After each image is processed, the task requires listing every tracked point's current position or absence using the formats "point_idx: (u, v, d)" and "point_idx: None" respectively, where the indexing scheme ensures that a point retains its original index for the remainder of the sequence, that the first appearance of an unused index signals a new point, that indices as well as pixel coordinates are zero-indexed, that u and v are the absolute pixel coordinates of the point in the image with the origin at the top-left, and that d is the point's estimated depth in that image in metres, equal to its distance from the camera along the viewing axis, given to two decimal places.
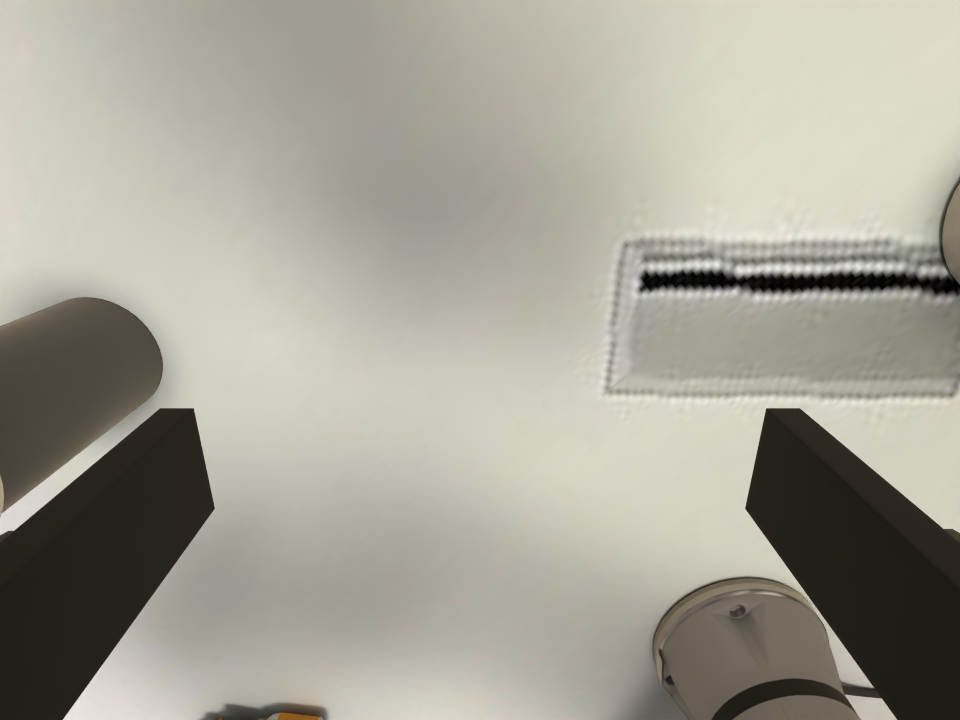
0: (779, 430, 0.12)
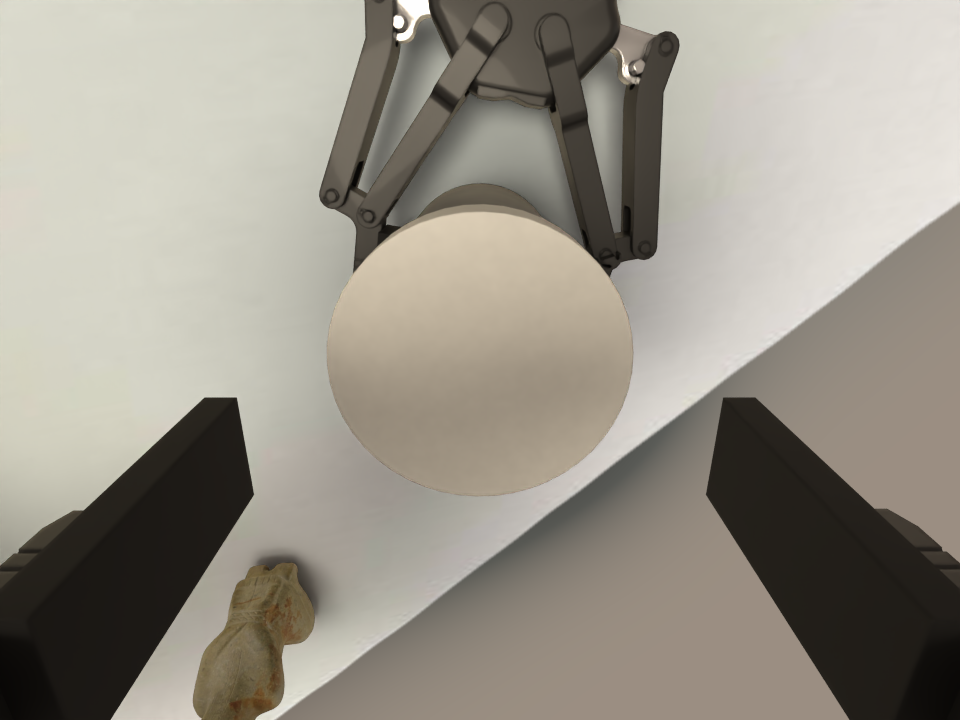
0: (733, 418, 0.12)
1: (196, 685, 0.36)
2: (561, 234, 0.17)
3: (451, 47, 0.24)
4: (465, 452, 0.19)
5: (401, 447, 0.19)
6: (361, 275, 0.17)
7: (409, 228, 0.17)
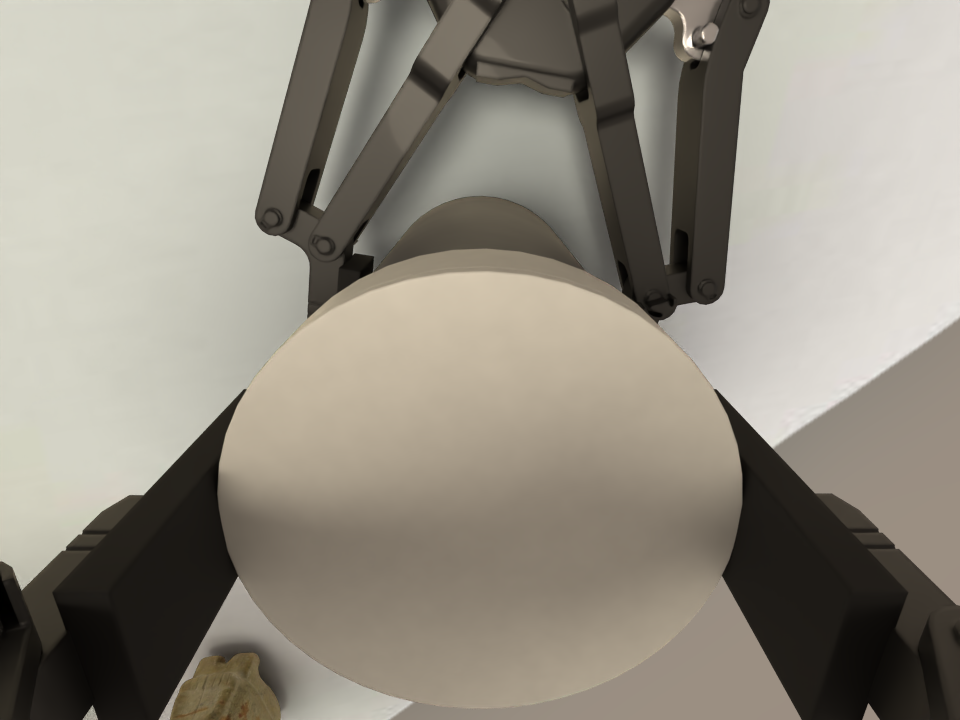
0: None
1: None
2: (628, 311, 0.09)
3: (438, 5, 0.17)
4: (456, 649, 0.12)
5: (351, 642, 0.12)
6: (268, 381, 0.10)
7: (351, 300, 0.09)
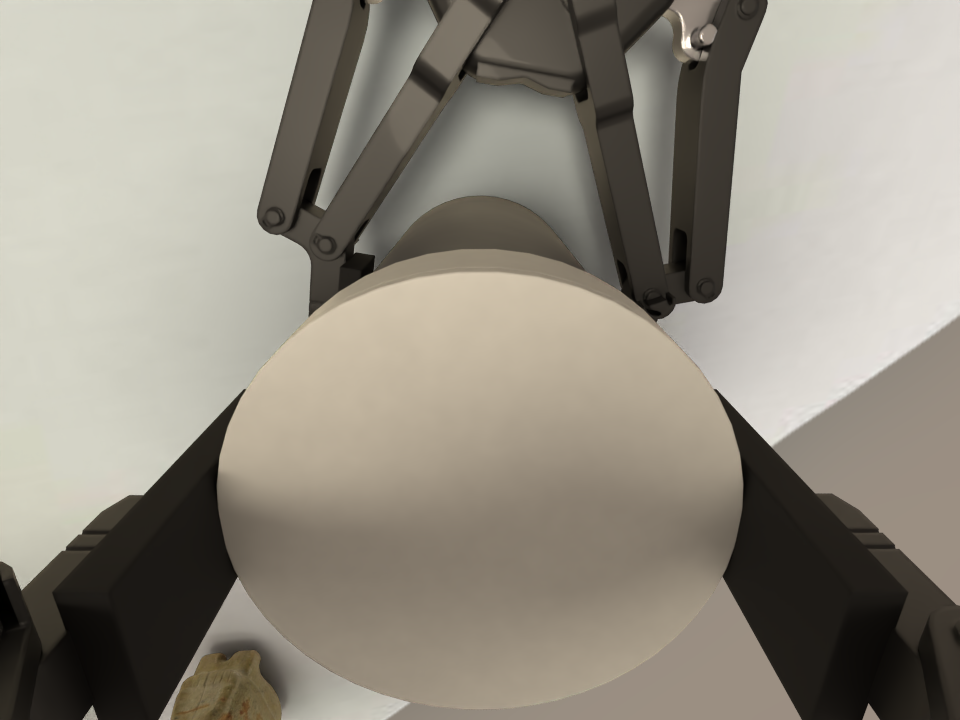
0: None
1: None
2: (303, 330, 0.09)
3: (439, 6, 0.17)
4: (611, 600, 0.11)
5: (552, 668, 0.12)
6: (269, 610, 0.11)
7: (223, 529, 0.11)
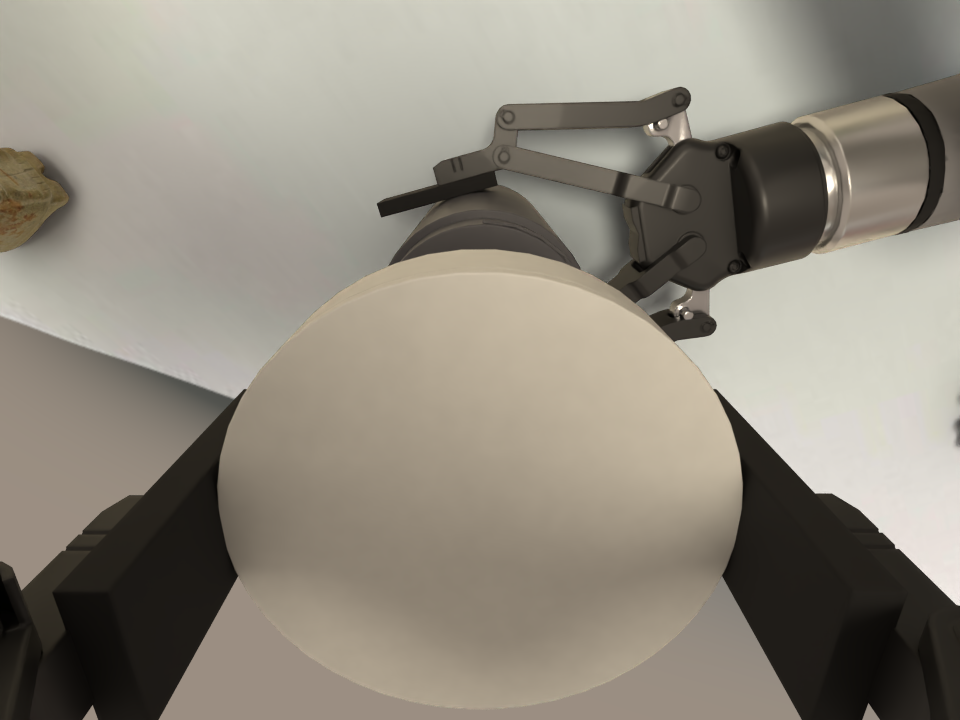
0: None
1: None
2: (303, 330, 0.09)
3: (657, 173, 0.30)
4: (611, 599, 0.11)
5: (552, 668, 0.12)
6: (269, 609, 0.11)
7: (223, 528, 0.11)
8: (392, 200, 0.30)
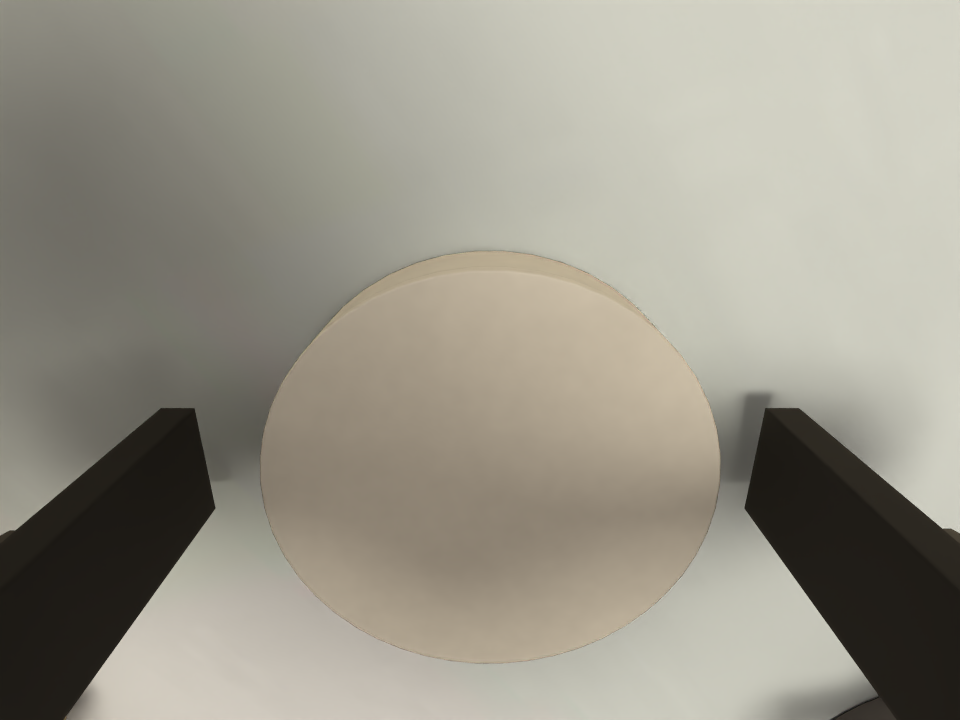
0: (778, 430, 0.12)
1: None
2: (338, 320, 0.11)
3: None
4: (605, 561, 0.13)
5: (553, 625, 0.14)
6: (302, 570, 0.13)
7: (264, 496, 0.12)
8: None
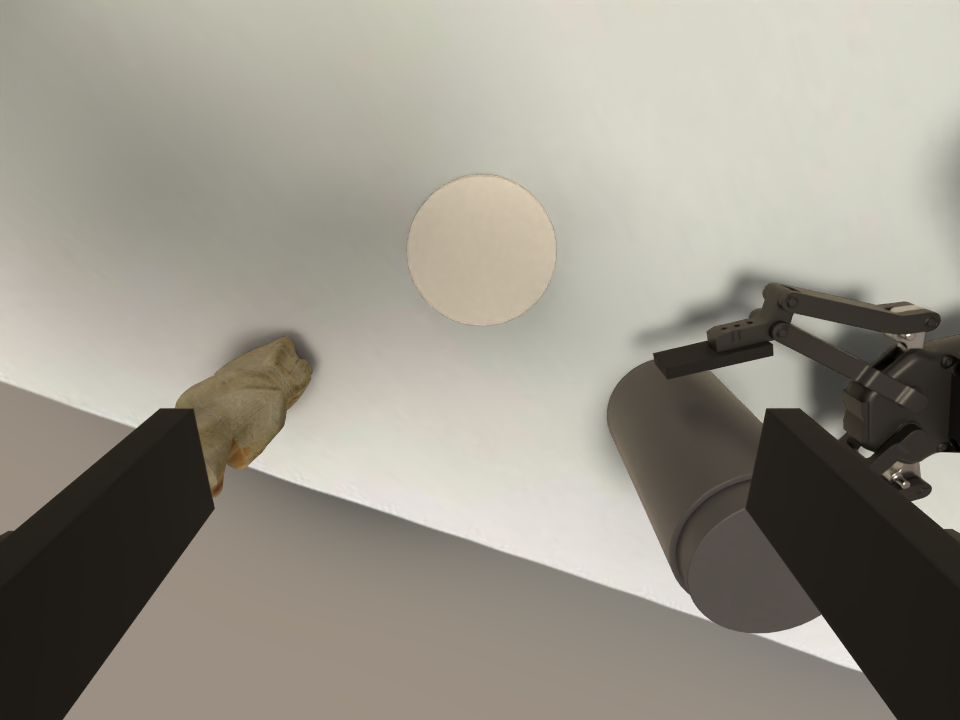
0: (779, 430, 0.12)
1: (204, 386, 0.33)
2: (436, 192, 0.36)
3: None
4: (521, 280, 0.38)
5: (504, 308, 0.39)
6: (418, 284, 0.38)
7: (407, 255, 0.37)
8: (680, 366, 0.34)
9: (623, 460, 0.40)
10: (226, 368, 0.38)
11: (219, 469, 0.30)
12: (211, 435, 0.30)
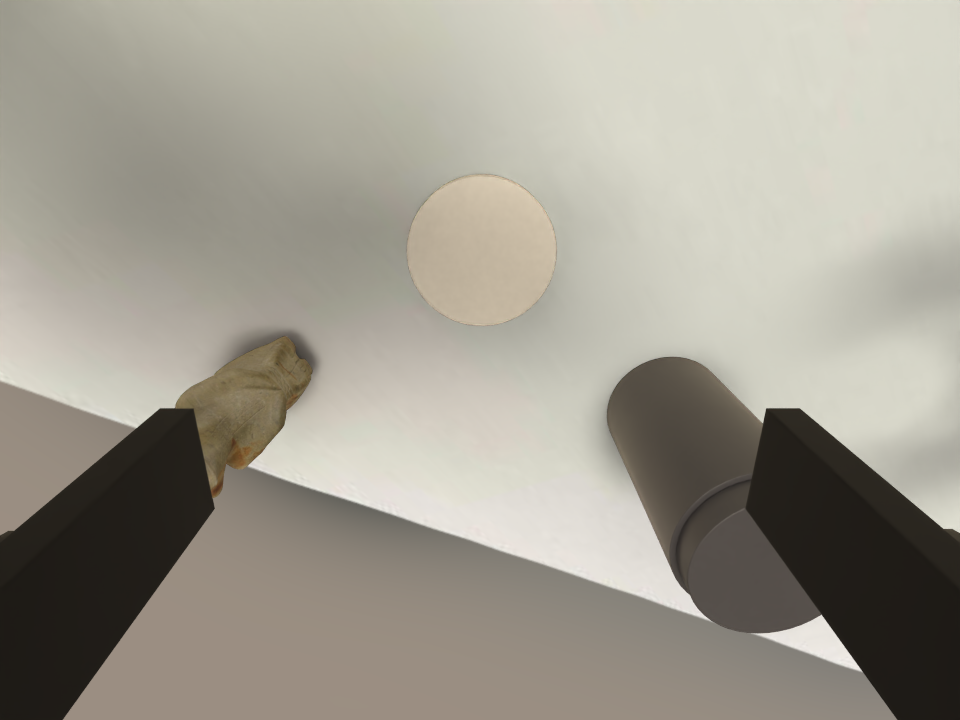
0: (779, 430, 0.12)
1: (204, 386, 0.33)
2: (436, 192, 0.36)
3: None
4: (521, 280, 0.38)
5: (504, 308, 0.39)
6: (418, 284, 0.38)
7: (407, 255, 0.37)
8: None
9: (623, 460, 0.40)
10: (226, 368, 0.38)
11: (219, 469, 0.30)
12: (211, 435, 0.30)
